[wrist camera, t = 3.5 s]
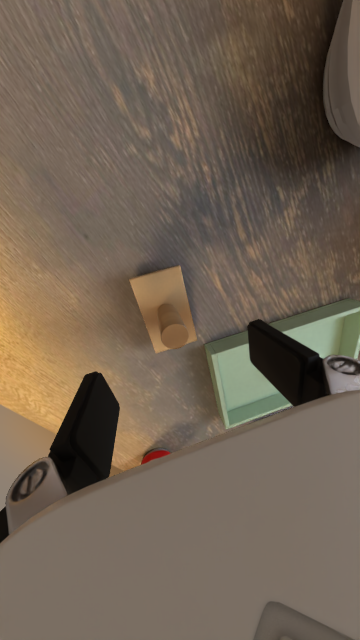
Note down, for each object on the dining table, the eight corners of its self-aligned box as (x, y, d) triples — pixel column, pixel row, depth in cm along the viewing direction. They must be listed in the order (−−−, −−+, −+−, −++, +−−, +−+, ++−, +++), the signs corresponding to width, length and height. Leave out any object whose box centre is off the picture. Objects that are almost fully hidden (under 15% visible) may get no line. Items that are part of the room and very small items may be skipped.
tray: (348, 298, 28) (371, 303, 25) (334, 373, 34) (351, 383, 32) (204, 344, 26) (211, 355, 23) (218, 414, 32) (225, 429, 30)
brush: (131, 276, 20) (121, 292, 12) (175, 264, 20) (195, 271, 12) (154, 342, 24) (159, 388, 16) (191, 330, 24) (214, 369, 16)
